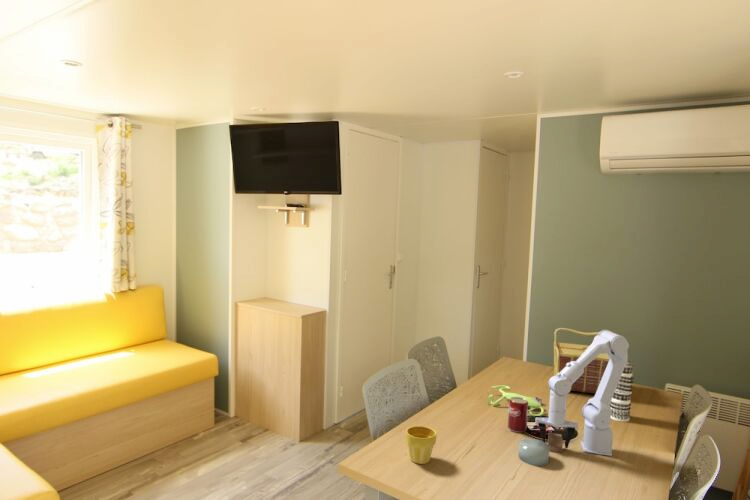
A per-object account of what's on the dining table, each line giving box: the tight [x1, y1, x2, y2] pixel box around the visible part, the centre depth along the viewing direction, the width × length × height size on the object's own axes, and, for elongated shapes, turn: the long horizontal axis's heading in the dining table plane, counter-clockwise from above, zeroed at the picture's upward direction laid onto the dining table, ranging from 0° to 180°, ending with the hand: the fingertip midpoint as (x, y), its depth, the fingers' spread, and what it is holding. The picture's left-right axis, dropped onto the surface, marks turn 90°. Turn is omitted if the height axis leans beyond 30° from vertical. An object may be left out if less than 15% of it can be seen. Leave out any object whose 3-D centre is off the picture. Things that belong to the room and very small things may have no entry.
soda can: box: [507, 397, 529, 434], centre depth 191 cm, size 7×7×12 cm
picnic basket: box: [553, 327, 610, 395], centre depth 242 cm, size 29×26×30 cm
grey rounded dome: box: [518, 438, 550, 467], centre depth 168 cm, size 10×10×5 cm
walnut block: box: [547, 432, 564, 454], centre depth 175 cm, size 4×4×5 cm
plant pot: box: [405, 425, 437, 465], centre depth 164 cm, size 10×10×10 cm
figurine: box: [486, 384, 545, 417], centre depth 217 cm, size 18×27×6 cm
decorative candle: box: [610, 360, 634, 422], centre depth 206 cm, size 9×9×25 cm
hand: (555, 445), depth 175 cm, fingers open, 7 cm apart
